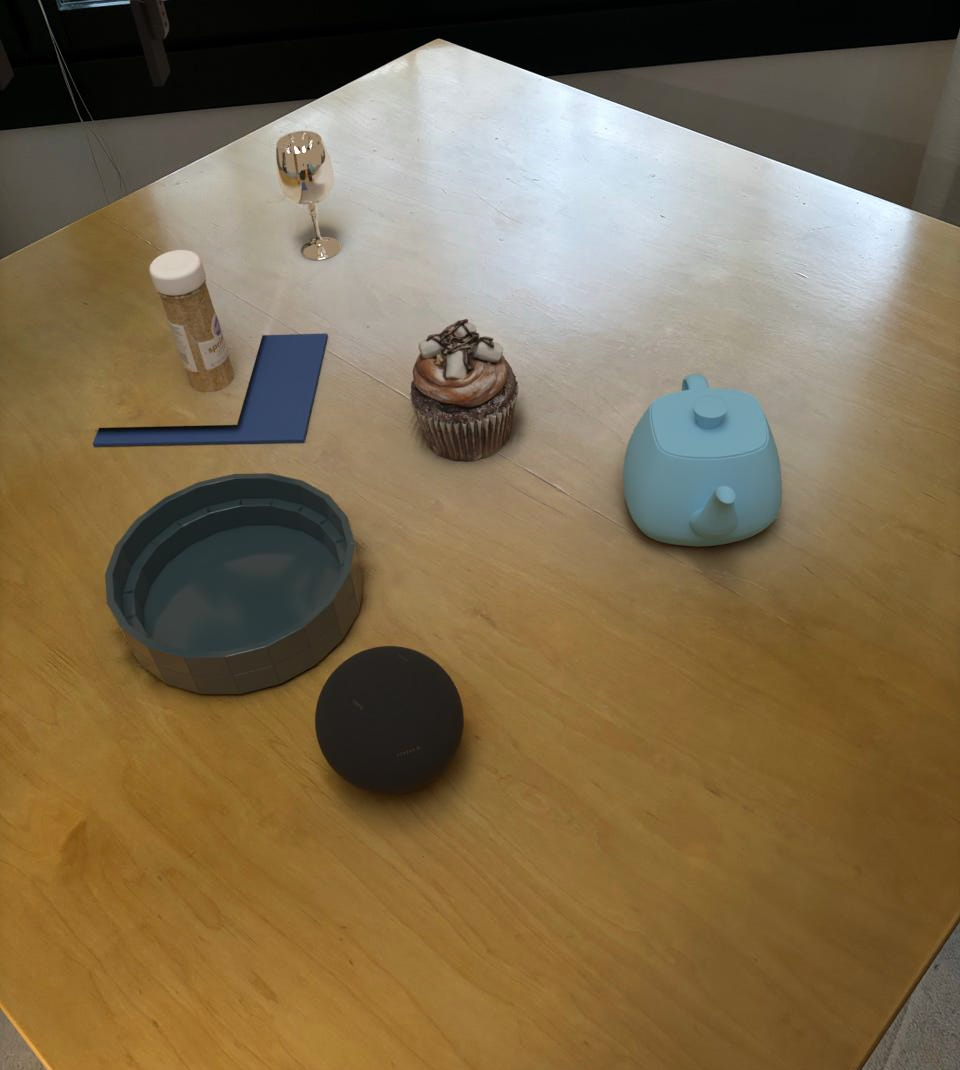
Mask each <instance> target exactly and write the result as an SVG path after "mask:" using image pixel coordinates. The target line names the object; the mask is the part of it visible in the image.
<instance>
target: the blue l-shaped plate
mask: <svg viewBox="0 0 960 1070" xmlns="http://www.w3.org/2000/svg"><path fill="white" fill-rule="evenodd" d="M328 338H329V335H328V333H327V332H326V333H297V334H296V333H294V334H293V333H292V334H291V333H290V334H263V335H262V336H261V339H260V342H259V346H258V350H257V353H256V356H255V360H254V364H253V367H252V370H251V375H250V378H249V381H248V385H247V388H246V391H245V394H244V399H243V403H242V405H241V409H240V413H239V416H238V419H237V424H210V425H207V424H206V425H163V426H162V425H160V426H159V425H157V426H120V427H119V426H117V427H116V426H115V427H113V426H112V427H111V426H110V427H98V429H97V432H96V434H95V437H94V439H93V441H92V446H93V447H95V448H100V447H102V448H105V447H151V446H153V447H155V446H156V447H157V446H198V445H199V446H200V445H201V446H202V445H203V446H204V445H205V446H206V445H207V446H208V445H249V444H250V445H252V444H254V445H255V444H298V443H300V444H301V443H303V444H304V443H305V441H306V436H307V433H308V429H309V428H308V427H309V424H310V420H311V415H312V410H313V406H314V401H315V396H316V392H317V388H318V383H319V378H320V374H321V369H322V365H323V361H324V357H325V356H324V355H325V351H326V347H327V342H328Z"/></svg>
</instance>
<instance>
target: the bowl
mask: <svg viewBox="0 0 960 1070" xmlns="http://www.w3.org/2000/svg"><path fill="white" fill-rule="evenodd" d="M111 553H112V554H111V557H110V559H109V562H108V565H107V567H106V571H105V574H104V582H105V583H104V584H105V595H106V605H107V606H108V609H109V611H110V612H111V614H112V616H113V619H114V620H115V622H116V624H117V627H118V628H119V629H120V632H121V633H122V636H123V637H124V639H125V641H126V643H127V644H128V646H129V648H130V650H131V651H132V653H133V655H134V656H135V658H136V660H137V662H138V664H139V665H140V666H141V667H142V668H144V669H145V670H146V671H148V672H149V673H150V674H151V675H153V676H154V677H156V678H157V679H159V680H160V681H162V682H163V683H164V684H165V685H169V686H173V687H176V688H178V689H181V690H186V691H190V692H193V693H196V694H200V695H242V694H246V693H249V692H254V691H258V690H262V689H265V688H269V687H274V686H277V685H280V684H283V683H285V682H287V681H288V680H290V679H292V678H294V677H296V676H297V675H300V674H301V673H304V672H305V671H307V670H309V669H311V668H313V667H315V666H316V665H317V664H318V663H320V662H321V660H323V659H324V658H325V657H326V656H327V655H328V654H329V653H330V652H331V651H332V650H333V649H334V648H336V647H337V646H338V644H340V643H341V642H342V641H343V640H344V638H345V637H346V635H347V633H348V631H349V630H350V628H351V626H352V624H353V623H354V620H355V619H356V617H357V615H358V614H359V612H360V608H361V602H362V596H363V588H364V583H365V582H364V577H363V573H362V568H361V564H360V560H359V555H358V550H357V546H356V543H355V539H354V535H353V532H352V528H351V524H350V520H349V517H348V516H347V514H345V512H344V511H343V510H342V509H341V508H340V506H339V505H338V504H337V502H336V501H335V500H334V499H333V498H332V497H331V495H329V494H328V493H326V492H324V491H323V490H321V489H319V488H317V487H315V486H313V485H311V484H310V483H308V482H307V481H304V480H303V479H297V478H294V477H288V476H284V475H279V474H276V473H269V472H268V473H266V472H265V473H263V472H262V473H261V472H260V473H232V474H227V475H223V476H219V477H214V478H209V479H206V480H202V481H198V482H195V483H193V484H190V485H188V486H187V487H185V488H183V489H180V490H178V491H176V492H173V493H171V494H169V495H168V496H165V497H163V498H162V499H161V500H159V501H158V502H157V503H156V504H154V505H153V506H151V507H150V508H148V510H146V511H145V512H144V513H143V514H141V515H139V516H138V517H137V518H136V519H135V520H134V521H133V522H132V524H130V526H129V528H128V529H127V530H126V531H125V533H123V535H122V536H121V538H120V539H119V540H118V542H117V543H116V544H115V546H114V548H113V550H112V552H111Z"/></svg>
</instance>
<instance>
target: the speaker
mask: <svg viewBox="0 0 960 1070" xmlns="http://www.w3.org/2000/svg"><path fill="white" fill-rule="evenodd" d="M464 719H465V717H464V707H463V702H462V699H461V695H460V693H459V690H458V688H457V686H456V684H455V682H454V681H453V679H452V677H451V676H450V675H449V674H448V672H447V671H446V670H445V669H444V668H443V667H442V666H441V665H440V664H439V663H438V662H437V661H435V660H434V659H433V658H431V657H430V656H428V655H426V654H424V653H422V652H420V651H417V650H415V649H412V648H409V647H404V646H397V645H382V646H376V647H375V646H374V647H370V648H367V649H365V650H362V651H359V652H358V653H355V654H353V655H351V656H350V657H348V658H347V659H345V660H344V661H343V662H342V663H340V664H339V665H338V666H337V667H336V668H335V669H334V670H333V671H332V673H330V675H329V676H328V678H327V679H326V681H325V683H324V685H323V686H322V688H321V690H320V693H319V696H318V698H317V701H316V706H315V712H314V729H315V734H316V740H317V743H318V746H319V749H320V751H321V754H322V755H323V757H324V759H325V761H326V762H327V764H328V765H329V766H330V767H331V769H332V770H333V771H334V772H335V774H337V775H338V776H339V777H340V778H341V779H343V780H344V781H345V782H347V783H348V784H350V785H351V786H354V787H355V788H357V789H360V790H362V791H365V792H368V793H373V794H377V795H387V796H388V795H390V796H391V795H401V794H407V793H411V792H413V791H416V790H418V789H420V788H423V787H424V786H426V785H428V784H429V783H431V782H432V781H434V780H436V778H438V777H439V776H440V775H441V774H442V773H443V772H444V771H445V770H446V768H447V767H448V766H449V765H450V763H451V762H452V761H453V760H454V757H455V755H456V754H457V752H458V749H459V747H460V744H461V741H462V737H463V731H464V722H465V721H464Z"/></svg>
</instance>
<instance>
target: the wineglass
mask: <svg viewBox="0 0 960 1070" xmlns="http://www.w3.org/2000/svg"><path fill="white" fill-rule="evenodd" d="M275 146H276V148H275V165H276V175H277V180H278V183H279V186H280V189H281V191H282V193H283V195H284V196H285V197H286V198H287V199H289V200H290V201H291V202H293V203H295V204H297V205H298V204H299V205H304V206H307V212H308V215H309V216H310V219H311V221H312V224H313V227H314V232H315V237H314V238H312V239H309V240H308V241H306V242H305V243H303V244H302V245H301V247H300V254H301V256H302V257H304V258H305V259H307V260H310V261H325V260H327V259H331V258H332V257H334V256H336V255H337V254H338V253H340V250H341V248H342V245H341V243H340V241H339V240H338V239H336V238H334V237H330V236H329V237H328V236H321V232H320V228H319V222H318V214H319V208H318V207H317V204H318V203H320V202H322V201H324V200H325V199H326V198H327V197H328V196H329V195H330V193H331V191H333V187H334V180H335V179H334V178H335V177H334V168H333V164H332V161H331V158H330V155H329V152H328V149H327V147H326V145H325V143H324V140H323V138H322V136H321V135H320V134H319V133H317V132H314V131H309V130H299V131H293V132H290V133H287V134H284V135H283V136H281V137H280V138H279V139H278V140H277V142H276V144H275Z"/></svg>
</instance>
